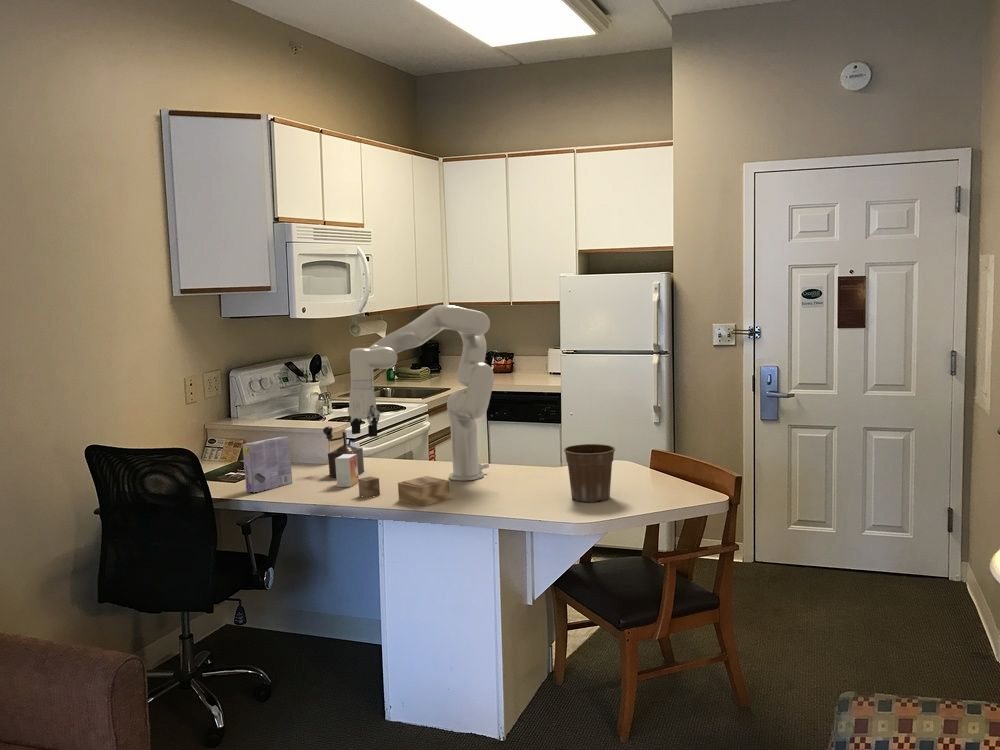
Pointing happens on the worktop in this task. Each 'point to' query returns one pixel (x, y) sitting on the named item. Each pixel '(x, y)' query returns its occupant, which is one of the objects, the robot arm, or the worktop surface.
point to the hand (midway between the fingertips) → (364, 435)
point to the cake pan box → (267, 464)
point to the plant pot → (590, 471)
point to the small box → (346, 470)
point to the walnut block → (369, 487)
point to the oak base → (423, 490)
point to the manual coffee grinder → (342, 452)
